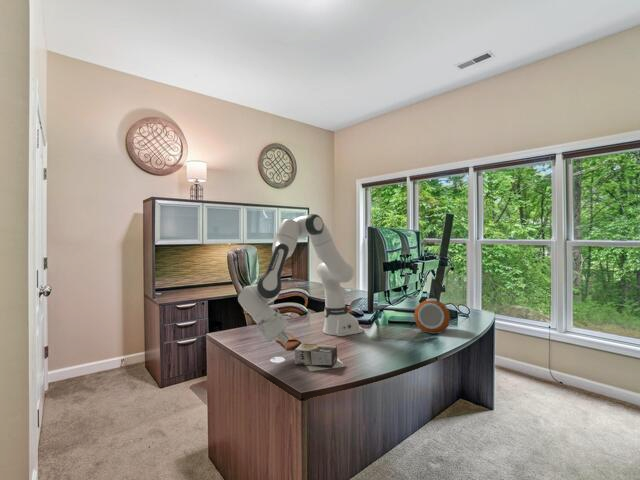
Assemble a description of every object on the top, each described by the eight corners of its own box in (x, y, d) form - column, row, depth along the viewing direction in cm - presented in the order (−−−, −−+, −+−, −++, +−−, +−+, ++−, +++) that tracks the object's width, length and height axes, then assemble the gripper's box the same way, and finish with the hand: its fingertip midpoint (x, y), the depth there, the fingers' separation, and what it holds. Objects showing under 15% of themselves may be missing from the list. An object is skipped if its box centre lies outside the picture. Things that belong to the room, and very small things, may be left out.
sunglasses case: (273, 340, 169) (280, 328, 170) (285, 345, 172) (290, 333, 173) (286, 351, 153) (293, 338, 154) (298, 356, 156) (305, 343, 157)
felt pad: (332, 353, 150) (332, 352, 150) (345, 366, 135) (345, 365, 135) (300, 357, 146) (300, 356, 146) (309, 371, 130) (309, 370, 130)
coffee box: (294, 364, 136) (332, 368, 131) (294, 349, 136) (331, 352, 131) (302, 357, 145) (337, 360, 140) (302, 342, 145) (337, 345, 140)
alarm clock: (412, 332, 179) (412, 301, 179) (415, 324, 196) (415, 295, 195) (450, 336, 172) (449, 303, 172) (450, 327, 188) (450, 297, 188)
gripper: (261, 318, 133) (284, 344, 131) (278, 307, 153) (299, 329, 151) (251, 329, 134) (274, 354, 132) (269, 316, 154) (289, 338, 152)
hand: (287, 341), depth 142 cm, fingers closed
